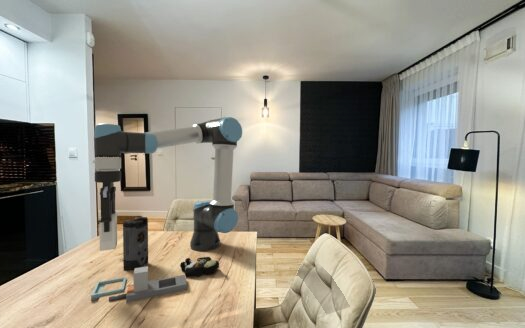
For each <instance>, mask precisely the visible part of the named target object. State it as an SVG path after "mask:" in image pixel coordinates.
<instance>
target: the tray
mask: <svg viewBox="0 0 525 328" xmlns="http://www.w3.org/2000/svg"><path fill="white" fill-rule="evenodd" d="M116 282H122V284H121V288H117V289H112V290H107V291H103V290H104V288H105V285H106V284H110V283H116ZM126 283H127V276H122V277H117V278H112V279H105V280H100V281H96V284H95V286H94V288H93V291H92V292H91V294H90V301H91V302H93V301H98V300H100V298H101V297H102V296H103V297H104V296H108V295H113V294H118V293H123V292H124V291H125V287H126Z"/></svg>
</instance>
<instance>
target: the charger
mask: <svg viewBox="0 0 525 328" xmlns="http://www.w3.org/2000/svg"><path fill="white" fill-rule="evenodd" d="M98 218H99V219H98V220H99V221H101V216H100V217H98ZM111 219H112V241H106V242H102V222H101V223H99V251H100V252H102V251H108V250H110V251H111V250H116V248H117V246H118V213H115V214H111Z"/></svg>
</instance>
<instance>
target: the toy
mask: <svg viewBox="0 0 525 328" xmlns="http://www.w3.org/2000/svg"><path fill="white" fill-rule="evenodd" d="M179 267H180V269H181V271H182V273H184V275H185V278H189V277H192V278H193V277H197V278H199V277H201V276H211V275H214V274H215V272H216V271H217V270H218V269H219V268H220V261H218V260H217V259H216V260H214V259H212V258H211V257H210V256H203V257H198V258H197V259H196V260H195V261H192V259H191V258H190V257H187V258H185V261H182V262H180V265H179Z"/></svg>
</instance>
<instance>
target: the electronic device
mask: <svg viewBox="0 0 525 328" xmlns="http://www.w3.org/2000/svg"><path fill="white" fill-rule="evenodd" d="M122 248H123V249H122V255H123V258H122V259H123V261H122V262H123V271H124V272H129V271H134V269H135V268H140V267H146V266H148V264H149V218H148V217H146V216H136V217H132V218H131V219H127V220H124V221H123V222H122Z"/></svg>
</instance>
